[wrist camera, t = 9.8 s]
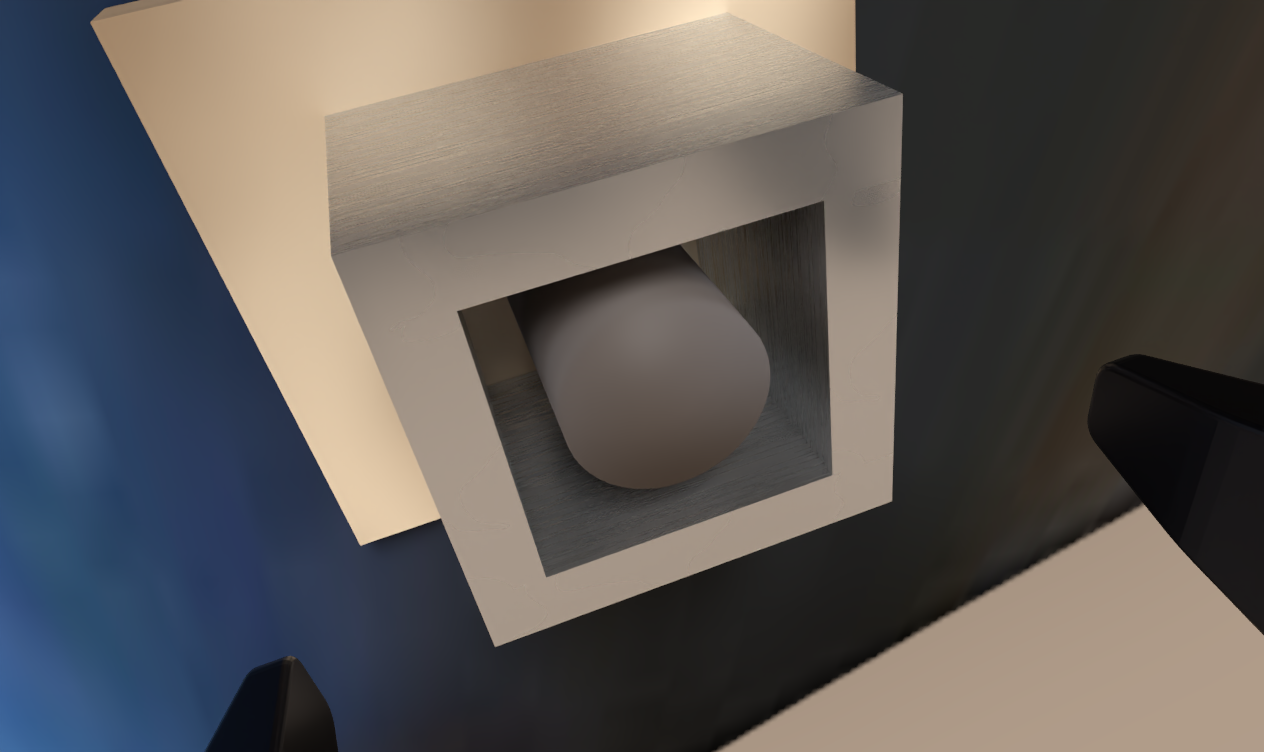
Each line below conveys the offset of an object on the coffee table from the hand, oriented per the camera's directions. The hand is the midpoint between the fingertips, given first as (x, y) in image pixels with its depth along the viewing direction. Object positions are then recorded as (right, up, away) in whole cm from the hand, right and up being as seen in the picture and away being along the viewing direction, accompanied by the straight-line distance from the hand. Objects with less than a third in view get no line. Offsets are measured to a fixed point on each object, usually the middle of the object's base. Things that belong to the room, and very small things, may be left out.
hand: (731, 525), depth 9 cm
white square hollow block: (-2, +4, +6) cm, 7 cm away
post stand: (-2, +4, +7) cm, 8 cm away
